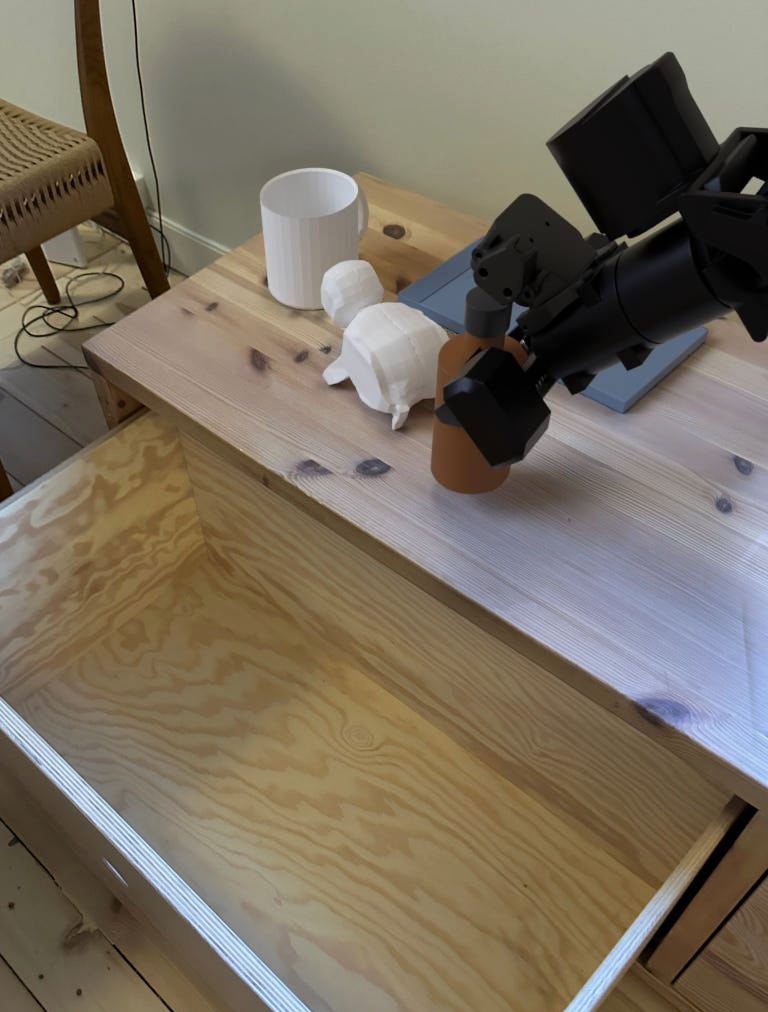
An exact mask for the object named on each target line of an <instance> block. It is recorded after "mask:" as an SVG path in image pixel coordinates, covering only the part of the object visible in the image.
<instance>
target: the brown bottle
mask: <svg viewBox="0 0 768 1012" xmlns="http://www.w3.org/2000/svg"><path fill="white" fill-rule="evenodd" d="M512 307H513V303H512V304H511V305H501V304H499V303H498V302H497V301H496V300H494V299H493V298H492V297H491V296H489V295H488V294H487V293H486V292H485V291H483V290H482V289H481V288H480V287H478V286H477V287H474V288H473V289H471V290H470V291H469V292H468V293H467V295H466V301H465V312H464V323H463V325H464V328H465V330H466V333H463V334H457V335H455V336H453V337H451V338H449V339H450V340H448V341H447V342H446V343H445V344H444V345H443V346H442V347H441V349H440V351H439V354H438V366H437V381H436V395H435V398H434V399H435V400H434V410H435V409H436V408H437V407H438V406H439V405H441V404H442V403H443V402H444V400H443V387H444V386H445V385H446V384H447V383H448V382H449V380H450V379H451V378H452V377H453V376H454V375H455V374H456V373H457V372H458V371H459V370H460V368H461V367H462V366H463V365H464V363H465V362H466V361H467V360H468V359H469V358H470V357H471V356H472V355H473V354H474V352H475V351H476V350H477V349H478V348H479V347H481V349H482V350H485V349H487V348H489V347H490V346H493V347H496V348H499V349H502V350H505V351H508V352H511V353H512V354H513V356H514V357H515V359H516V360H517V362H518V363H519V365H520V366H521V364H522V363H523V362H524V361H525V360H526V359H527V357H528V356H527V353H526V352H525V351H524V349H523V348H522V346H521V344H520V343H519V342H518V341H516V340H515V339H513V338H511V337H509V336H507V335H506V332H507V331H508V329H509V327H510V321H511V314H512ZM432 425H433V427H432V441H431V455H430V471H431V475H432V476H433V478H434V479H435V481H436V482H437V483H438V484H439V485H440V486H442V487H443V488H445V489H446V490H449V491H450V492H453V493H457V494H461V495H482V494H486V493H488V492H489V493H490V492H492V491H495V490H496V489H497V488H500V487H501V486H502V485H503V484H504V483H505V482H506V481H507V479H508V478H509V475H510V471H511V466H512V465H509V466H507V467H504V468H502V469H500V468H494V467H491V466H490V464H489V463H488V462H487V460H486V459H485V457H484V456H483V455H482V453H481V452H480V450H479V449H478V448H477V446H476V445H475V444H474V442H473V441H472V439H471V438H470V437H469V435H468V434H467V432H466V431H465V430H464V428H463V427H458V426H453V425H448V424H443V423H441V422H440V421H439V419H438V418H437V416H436V415H435V414H434V413H433V424H432Z"/></svg>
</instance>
